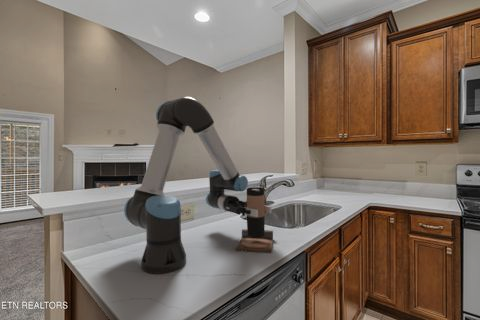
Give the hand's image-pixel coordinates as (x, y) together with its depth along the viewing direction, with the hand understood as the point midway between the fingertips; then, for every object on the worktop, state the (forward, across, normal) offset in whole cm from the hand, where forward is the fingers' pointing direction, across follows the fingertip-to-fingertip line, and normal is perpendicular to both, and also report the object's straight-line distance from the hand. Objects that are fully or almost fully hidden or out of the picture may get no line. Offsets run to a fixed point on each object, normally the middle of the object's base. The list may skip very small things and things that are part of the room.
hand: (264, 211), depth 97 cm
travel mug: (-5, 0, -11) cm, 12 cm away
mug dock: (-5, 0, -15) cm, 16 cm away
